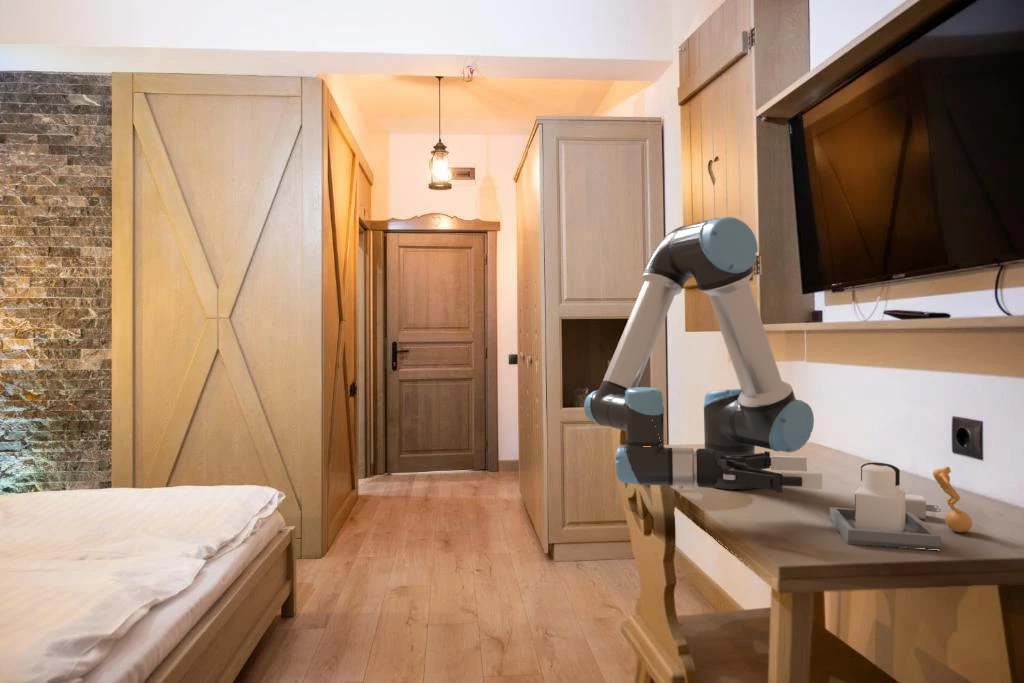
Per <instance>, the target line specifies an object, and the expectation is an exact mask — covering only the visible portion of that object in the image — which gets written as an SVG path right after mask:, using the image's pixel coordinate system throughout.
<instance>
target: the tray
mask: <svg viewBox="0 0 1024 683" xmlns="http://www.w3.org/2000/svg"><path fill="white" fill-rule="evenodd" d="M829 520H831V521H832V522H831V521H830V522H831V523H832V525H833V524H834V525H833V526H834V528H837V529H836V530H837V531H838V533H839V532H840V533H839V534H840V535H841V537H842V536H843V537H842V538H843V539H844V541H845V540H846V541H845V542H846V543H847V544H848V545H854V544H855V545H854V546H858V545H859V546H866V545H869V547H878V546H886V547H885V548H891V547H903V548H902V549H904V548H905V547H906V548H925V549H939V550H941V551H942V546H941V545H942V538H941V535H939V534H938V533H937V532H936V531H935V530H934V529H932V528H931V527H929V526H928V525H927V524H926V523H925V522H923V521H922V519H919V518H917V517H916V516H915V515H914V514H912V513H911V512H905V529H904V531H903V532H894V531H880V530H866V529H855V508H849V507H847V508H846V507H829ZM871 545H872V546H871ZM887 546H888V547H887Z"/></svg>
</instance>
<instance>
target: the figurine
mask: <svg viewBox="0 0 1024 683" xmlns="http://www.w3.org/2000/svg"><path fill="white" fill-rule="evenodd" d="M950 473H952V470H951V467H949V466H945V467H943V468H942V467H941V468H938V469H937V468H936V469H935V470H933V472H932V476H933V478H934V479H935V482H937V483H938V484H939V486H940V488H941V489H942V490H943V492H944V493H945V494H947V495H948V496H950V497H948V498H947V500H946V501H947V505H948V506H949V507H950V508H951V510H950V511H949V512H948V513H947V514H946V515H945V517H944V518H945V523H946V526H947V527H948V528H949V529H950V530H952V531H953V532H955V533H966V532H968V531H969V530H971V529H972V526H973V520H972V517H971V515H969V514H968V513H967V512H965V511H963V510H960V509H958V508H956V507H955V506H954V505H956V504H957V502H959V501H960V500H961V495H960V494H959V493H958V492H957V491H956V489H955V488H954V487H953V485H952V484H951V483H950V482H951V477H950V475H949V474H950Z"/></svg>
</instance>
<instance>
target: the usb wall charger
mask: <svg viewBox="0 0 1024 683" xmlns="http://www.w3.org/2000/svg"><path fill="white" fill-rule="evenodd" d="M926 501H927V500H926V498H925V497H924V496H923V495H917V494H906V493H905V512H911V513H912V514H914V515H915V516H916V517H917V518H919V519H920V520H926V519H927V512H933V513H941V508H939V506H938V505H934V504H927V502H926Z"/></svg>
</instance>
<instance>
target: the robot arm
mask: <svg viewBox="0 0 1024 683" xmlns="http://www.w3.org/2000/svg"><path fill="white" fill-rule="evenodd" d="M758 250H759V249H758V242H757V238H756V236H755V234H754V231H753V230H752V229H751V227H750V226H749V225H748V224H747V223H746V222H744V221H742V220H740V219H739V218H736V217H732V216H725V217H715V218H714V217H713V218H711V219H707V220H704V221H700V222H696V223H693V224H688V225H683V226H678V227H677V228H675V229H673V230H671V231H670V232H669V233H667V234H666V235H665V236H664V237H663V239H662V240H661V241H660V242H659V243H658V245H657V246H656V248H655V249H654V251H653V252H652V254H651V255H650V257H649V260H648V262H647V263H646V265H645V268H644V270H643V273H642V275H641V277H640V279H641V281H642V287H641V288H640V291H639V293H638V296H637V298H636V301H635V303H634V305H633V307H632V310H631V313H630V314H629V318H628V319H627V322H626V325H625V327H624V329H623V332H622V334H621V337H620V339H619V341H618V343H617V347H616V349H615V351H614V353H613V356H612V357H611V360H610V362H609V365H608V367H607V370H606V372H605V374H604V378H603V380H602V382H601V384H600V386H599V388H598V389H597V390H594V391H592V392H590V393H589V394H588V395H587V396H586V398H585V400H584V404H583V410H584V413H585V415H586V417H587V418H588V420H590V421H591V422H593V423H595V424H598V425H600V426H602V427H609V428H612V429H613V428H614V429H618V430H621V431H624V432H625V445H620V446H618V447H617V448H616V450H615V451H616V452H615V476H616V478H617V480H618V481H619V482H620V483H622V484H632V485H638V486H642V485H643V486H673V487H675V486H676V487H678V489H680V490H682V489H684V487H689V488H691V487H693V488H694V487H695V484H697V485H696V486H697V487H699V488H708V489H709V488H710V489H715V488H717V489H722V490H723V489H724V490H733V489H746V490H754V489H753V488H755V489H762V490H769V491H770V490H771V491H775V492H776V493H783V488H784V489H806V490H807V489H808V490H823V473H820V472H807V471H808V469H807V468H808V467H807V466H808V465H807V464H808V459H807V457H806V456H789V455H785V456H784V455H771V452H770V451H764V452H760V453H756V452H755V450H756V449H755V447H759V448H764V449H768V450H772V451H773V452H779V453H780V452H784V453H794V452H796V451H799V450H800V449H801V448H803V447H804V446H805V445H806V444H807V443H808V442H809V440H810V437H811V436H812V432H813V430H814V424H815V419H814V411H813V410H812V408H811V406H810V405H809V403H807V402H805V401H803V400H802V399H797V398H796V395H795V393H794V390H793V387H792V385H791V384H790V383H788V382H786V381H784V380H782V378H781V375H780V372H779V368H778V365H777V362H776V360H775V357H774V353H773V351H772V348H771V344H770V342H769V339H768V338H769V337H768V334H767V333H766V330H765V327H764V324H763V321H762V317H761V315H760V312H759V309H758V306H757V304H756V300H755V296H754V294H753V290H752V288H751V285H750V279H751V278H752V276H753V275H754V270H753V267H752V266H753V265H754V263H756V260H757V256H758V255H757V254H756V253H758ZM692 278H694V280H695V283H696V285H697V287H698V288H697V289H698V290H699V291H700V292H701V293H704V294H706V295H708V297H709V300H710V303H711V306H712V310H713V312H714V314H715V315H714V316H715V318H716V321H717V323H718V327H719V330H720V332H721V335H722V337H723V341H724V344H725V346H726V349H727V352H728V355H729V358H730V361H731V364H732V367H733V370H734V372H735V376H736V378H737V381H738V384H739V386H740V388H737V389H735V388H734V389H733V388H732V389H720V390H718V389H717V390H710V391H708V392H707V391H706V393H705V396H704V405H703V427H704V431H703V433H704V448H697V449H696V450H694V449H693V448H692V447H665V446H664V445H665V443H664V442H665V439H664V437H665V435H664V432H665V428H664V426H665V424H664V422H665V421H664V419H665V418H664V417H665V416H664V412H665V407H664V399H663V392H662V390H661V389H660V388H658V387H649V386H648V387H646V386H639V383H640V381H641V378H642V376H643V374H644V371H645V369H646V366H647V364H648V361H649V359H650V356H651V354H652V352H653V350H654V347H655V344H656V342H657V339H658V337H659V335H660V332H661V330H662V327H663V325H664V323H665V320H666V319H667V318H666V317H667V315H668V313H669V310H670V308H671V305H672V303H673V301H674V299H675V296H677V295H679V294H681V293H682V292H683V288H684V286H685V284H686V283H687V282H688V281H689V280H691V279H692ZM652 420H653V421H652ZM655 426H656V427H655ZM658 434H659V435H658ZM659 437H660V439H659ZM660 440H661V441H660ZM661 444H662V445H661ZM659 445H660V446H659ZM643 446H651V447H643ZM766 469H767V470H766ZM768 469H770V470H771V471H770V470H768ZM775 471H781V472H775Z"/></svg>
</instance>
